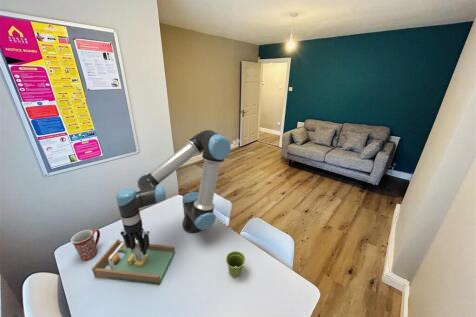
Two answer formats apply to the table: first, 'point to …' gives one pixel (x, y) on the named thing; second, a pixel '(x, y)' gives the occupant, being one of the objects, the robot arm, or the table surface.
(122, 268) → the pitch
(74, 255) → the table surface
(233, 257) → the plant pot
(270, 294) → the table surface
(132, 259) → the kicker
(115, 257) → the ball
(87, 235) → the mug
